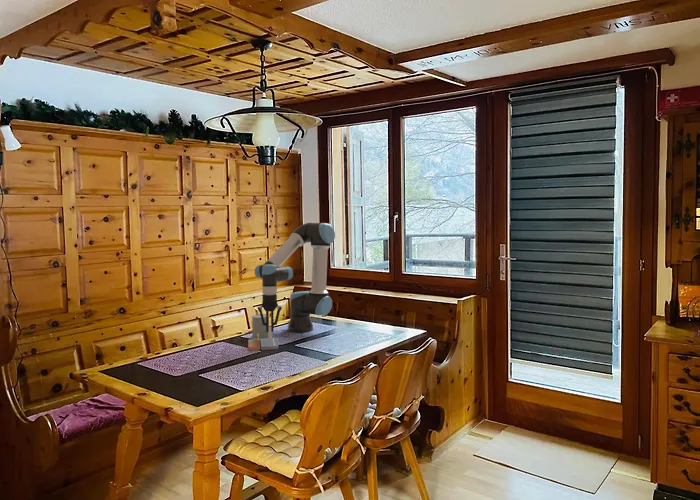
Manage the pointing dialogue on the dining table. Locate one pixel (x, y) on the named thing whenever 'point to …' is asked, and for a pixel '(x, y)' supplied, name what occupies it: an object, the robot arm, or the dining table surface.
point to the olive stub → (253, 339)
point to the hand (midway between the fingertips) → (269, 338)
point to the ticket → (269, 344)
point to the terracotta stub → (254, 345)
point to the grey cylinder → (259, 327)
